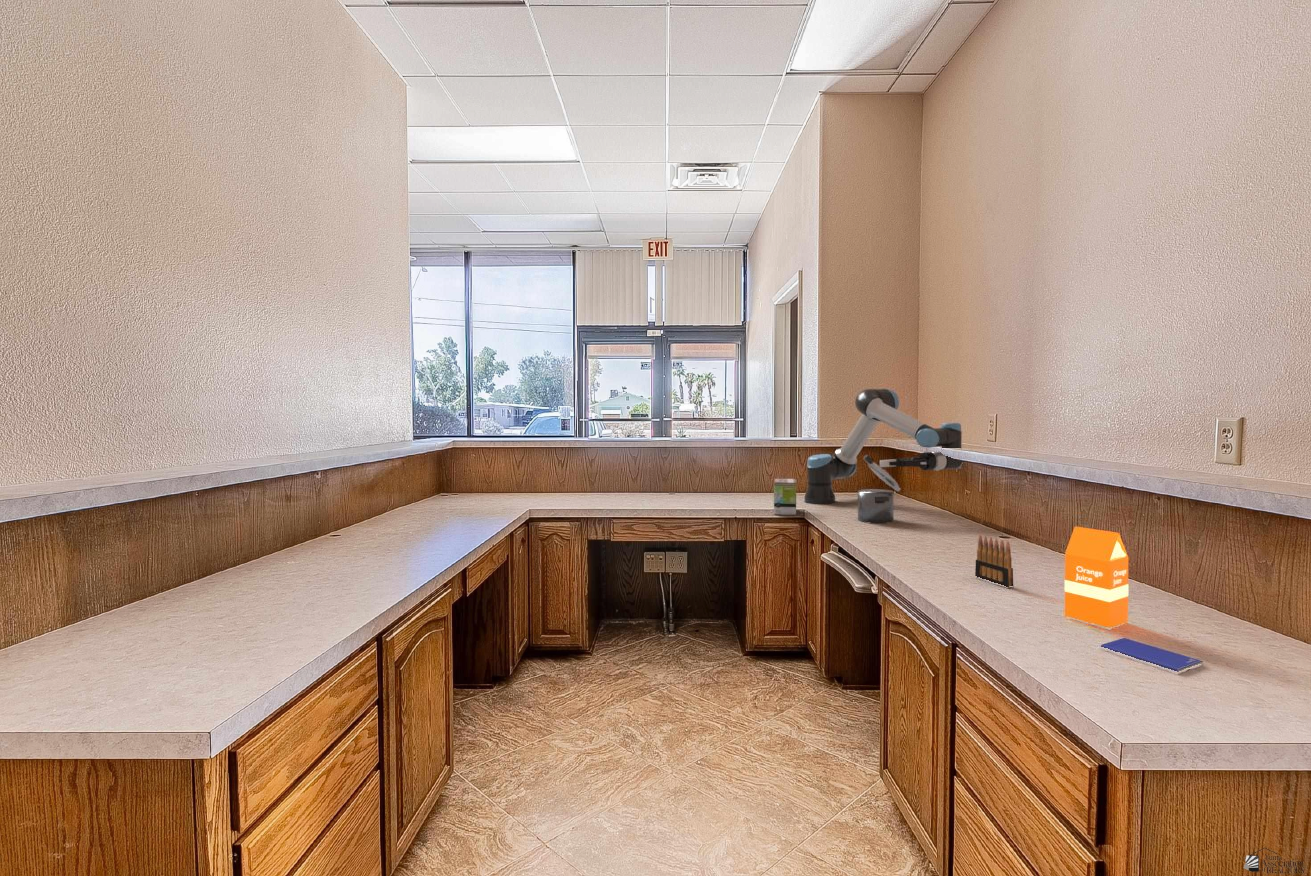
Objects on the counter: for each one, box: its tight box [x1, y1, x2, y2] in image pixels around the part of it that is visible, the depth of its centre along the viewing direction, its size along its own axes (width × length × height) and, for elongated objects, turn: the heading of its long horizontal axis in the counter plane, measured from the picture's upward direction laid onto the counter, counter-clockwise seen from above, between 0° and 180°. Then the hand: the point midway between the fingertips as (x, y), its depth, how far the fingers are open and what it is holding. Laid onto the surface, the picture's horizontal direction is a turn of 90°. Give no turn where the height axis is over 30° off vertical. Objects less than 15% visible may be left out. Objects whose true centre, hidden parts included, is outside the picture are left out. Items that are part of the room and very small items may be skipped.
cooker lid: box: [862, 454, 902, 492], centre depth 248 cm, size 15×19×3 cm
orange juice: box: [1064, 526, 1129, 628], centre depth 130 cm, size 8×9×20 cm
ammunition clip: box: [974, 534, 1014, 587], centre depth 159 cm, size 11×2×12 cm, turn 17°
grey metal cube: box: [857, 488, 895, 524], centre depth 249 cm, size 18×14×12 cm
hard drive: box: [1100, 637, 1204, 672], centre depth 111 cm, size 2×8×12 cm
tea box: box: [773, 478, 797, 516], centre depth 274 cm, size 15×10×15 cm, turn 168°
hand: (880, 463), depth 244 cm, fingers closed
